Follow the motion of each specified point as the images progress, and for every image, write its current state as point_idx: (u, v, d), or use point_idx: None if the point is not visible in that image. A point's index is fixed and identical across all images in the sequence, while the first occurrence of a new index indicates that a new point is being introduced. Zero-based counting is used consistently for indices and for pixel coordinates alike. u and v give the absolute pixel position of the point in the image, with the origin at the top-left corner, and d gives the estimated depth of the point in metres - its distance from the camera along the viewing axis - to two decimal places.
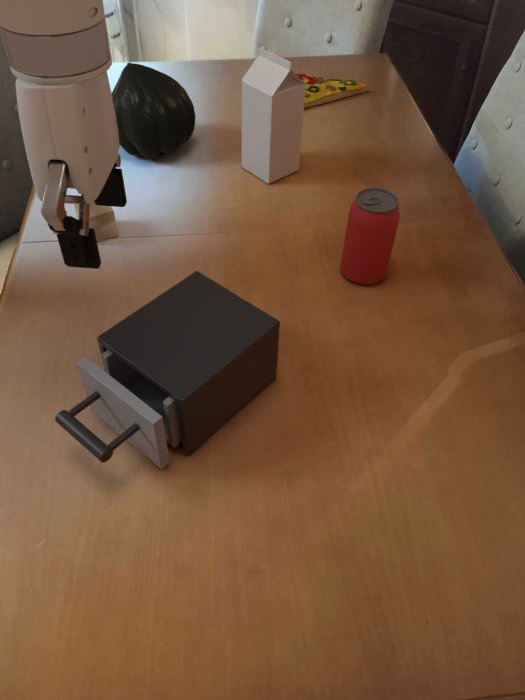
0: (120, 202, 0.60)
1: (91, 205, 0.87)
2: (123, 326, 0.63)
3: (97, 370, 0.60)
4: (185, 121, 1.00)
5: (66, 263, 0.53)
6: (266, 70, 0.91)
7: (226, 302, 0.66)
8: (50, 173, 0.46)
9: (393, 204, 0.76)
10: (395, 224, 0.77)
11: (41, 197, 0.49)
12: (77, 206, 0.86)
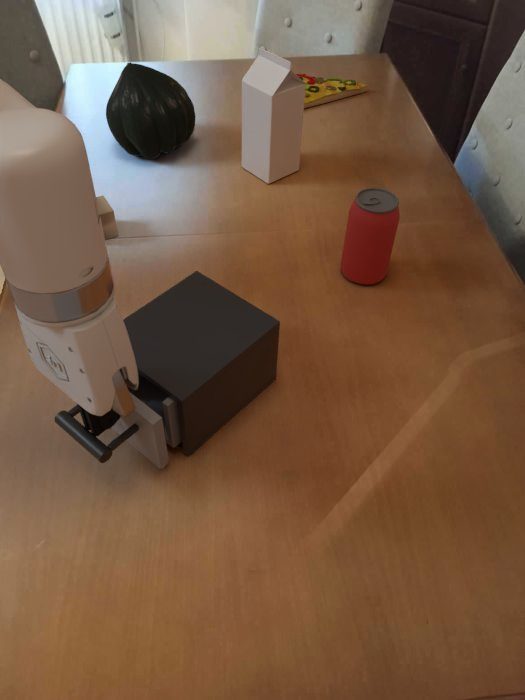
0: None
1: None
2: None
3: None
4: (185, 121, 1.00)
5: (96, 435, 0.58)
6: (266, 70, 0.91)
7: (226, 302, 0.66)
8: (116, 388, 0.50)
9: (393, 204, 0.76)
10: (395, 224, 0.77)
11: (104, 412, 0.50)
12: None
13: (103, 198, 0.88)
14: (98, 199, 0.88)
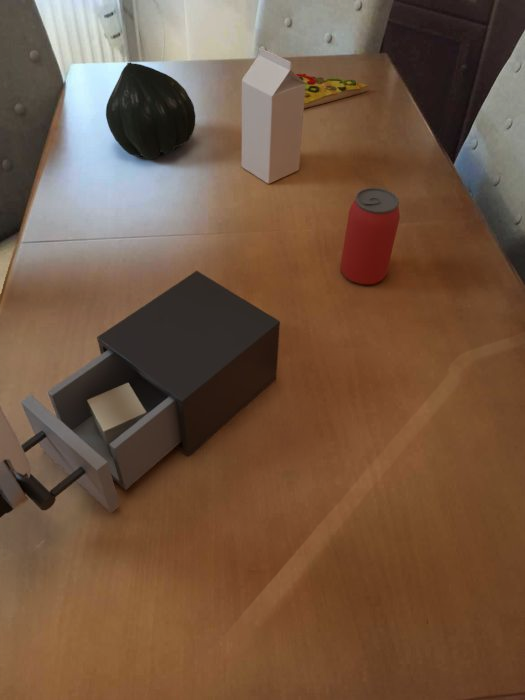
0: None
1: (113, 403, 0.60)
2: (123, 326, 0.63)
3: (41, 409, 0.56)
4: (185, 121, 1.00)
5: None
6: (266, 70, 0.91)
7: (226, 302, 0.66)
8: (0, 481, 0.44)
9: (393, 204, 0.76)
10: (395, 224, 0.77)
11: None
12: (93, 406, 0.59)
13: (129, 388, 0.61)
14: (121, 391, 0.61)
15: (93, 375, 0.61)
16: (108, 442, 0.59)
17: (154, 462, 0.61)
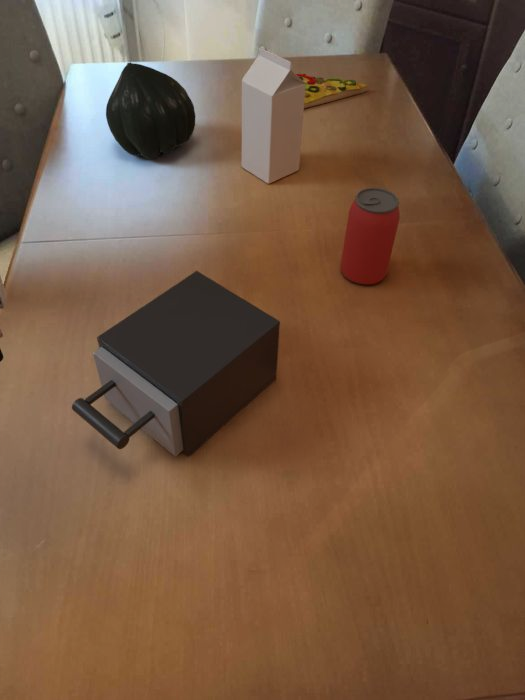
0: None
1: None
2: (123, 326, 0.63)
3: (113, 359, 0.61)
4: (185, 121, 1.00)
5: None
6: (266, 70, 0.91)
7: (226, 302, 0.66)
8: None
9: (393, 204, 0.76)
10: (395, 224, 0.77)
11: None
12: None
13: None
14: None
15: None
16: None
17: None
